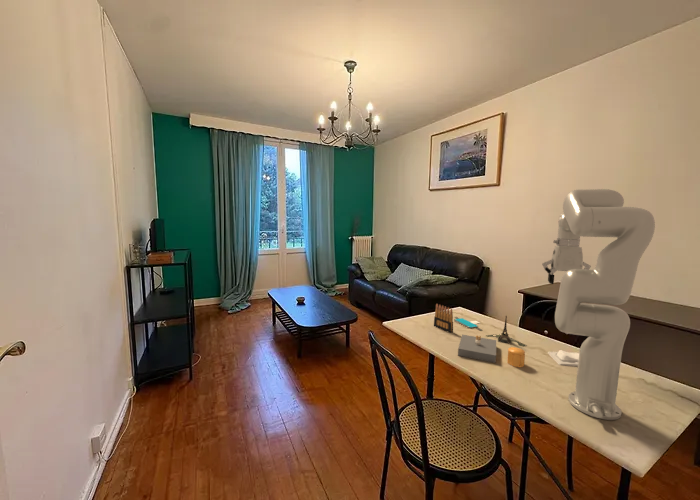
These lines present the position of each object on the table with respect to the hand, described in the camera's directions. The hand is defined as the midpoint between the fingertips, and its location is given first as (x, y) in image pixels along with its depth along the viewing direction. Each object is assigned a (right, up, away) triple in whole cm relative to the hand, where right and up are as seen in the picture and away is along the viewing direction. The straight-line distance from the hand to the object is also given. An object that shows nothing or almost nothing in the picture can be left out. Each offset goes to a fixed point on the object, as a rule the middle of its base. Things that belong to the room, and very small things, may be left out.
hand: (564, 284), depth 128 cm
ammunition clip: (-42, -26, +26) cm, 56 cm away
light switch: (-1, -31, -5) cm, 31 cm away
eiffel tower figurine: (-18, -28, +13) cm, 36 cm away
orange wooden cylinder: (-25, -30, -8) cm, 40 cm away
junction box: (-35, -29, +2) cm, 45 cm away
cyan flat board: (-26, -25, +34) cm, 50 cm away
